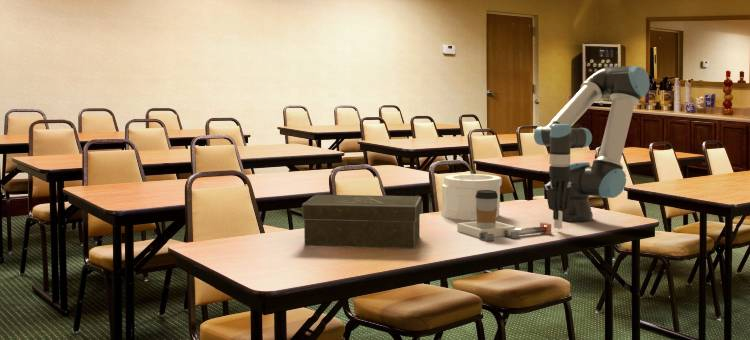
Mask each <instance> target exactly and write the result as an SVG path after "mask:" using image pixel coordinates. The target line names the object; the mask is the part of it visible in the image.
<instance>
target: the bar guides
mask: <svg viewBox="0 0 750 340" xmlns="http://www.w3.org/2000/svg"><path fill="white" fill-rule="evenodd" d="M508 230H512V229H508ZM506 231H507V230H504V236H503V237H504V238H508V236H507V234H506ZM487 233H488V232H480V233H479V238H478V239H479V240H481V241H485V242H494V241H495V237H494V234H487ZM519 238H520V235H519V231H513V232H511V236H510V237H509V238H508V239H519Z"/></svg>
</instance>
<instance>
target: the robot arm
mask: <svg viewBox="0 0 750 340" xmlns="http://www.w3.org/2000/svg"><path fill="white" fill-rule="evenodd" d="M649 90H650V77H649V74H648V71H646V69H645V68H643V66H634V65H628V66H607V67H603V68H601V69H599V70H597V71H595V72H594V73H593V74H592V75H590V76H589V77H588V78H586V79H585V80H584V81H583V82H582V83H581V85H580V88H579V90H578V91H577V92H576V93H575V94H574V96H573V97H572V98H571V99H570V100H569V101H568V102H567V103H566V104H565V105H564V106H563V107H562V108H561V109H560V111H559V112H558V113H556V114H555V116H554V117H553V118H552V119H551V121H549V123H548V124H546V126H545V125H541V126H538V127H536V128H535V130H534V133H533V139H534V141H535V143H536V144H537V145H539V146H543V147H549V161H548V162H549V165H550V166H549V168H548V174H549V177H550V178H549V179H548V180H549V181H548V182H547V183H546V184H544V185H543V188H544V190H545V194H546V200H547V206H548V207H547V208H548V210H551V211H552V218H553V221H554V225H553V228H554V229H559V230H562V229H563V221H564V222H589V221H593V217H594V215H593V212H592V208H591V205H590V201H589V200H590V199H589V198H590V196H591V197H601V198H604V199H607V198H608V199H609V198H610V199H613V198H617V197H618V196H620V195H621V194H622V193H623V191H624V189H625V188H626V183H627V175H626V172H625V171H624V166H623V165H622V163H621V160H622V156H623V151H624V148H625V145H626V140H627V137H628V132H629V128H630V124H631V121H632V116H633V112H634V108H635V106H636V105H638V104H639V103H640V100H641V97H644V96H646V95H647V94H648V93H649ZM605 96H609V98H610V99H611V101H612V102H611V105H610V110H609V113H608V116H607V121H606V125H605V128H604V134H603V137H602V140H601V145H600V150H599V152H598V157H597V158H595V159H594V160H593V161H592V164H591V163H590V162H588V161H585V162H582V161H581V162H572V163H571V149H583V148H587V147H588V146H590V144H591V143H592V140H593V135H592V133H591V131H590V129H588V128H586V127H573V125H574V124H575V123H577V121H578V120H579V119H580V118H581V117H582V116H583V115H584V114H585V113H586V112H587V110H588V109H589V108H590V107H591V106H592V105H593V104H594V102H598V101H601V99H602V98H603V97H605Z"/></svg>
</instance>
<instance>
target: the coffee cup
mask: <svg viewBox="0 0 750 340" xmlns="http://www.w3.org/2000/svg"><path fill="white" fill-rule="evenodd" d="M475 198H476V213H477V220H476V221H477V227H478V228H479V229H490V228H495V224H496V221H497V218H496V212H497V198H498V194H497V191H493V190H479V191H477V194H476V197H475Z"/></svg>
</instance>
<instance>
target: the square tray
mask: <svg viewBox="0 0 750 340" xmlns="http://www.w3.org/2000/svg"><path fill="white" fill-rule="evenodd" d="M456 225H457V227H456V228H457V230H456V231H457V232H458V233H462V234H466V235H468V236H472V237H475V238H478V239H479V233H480V232H488V233H487V234H494V238H496V237H505V236H504V230H508V229H517V227H516V226H515V225H512V224H508V223H504V222H501V221H497V220H496V224H495V228H490V229H479V228H478V227H477V220H475V221H469V222H468V221H467V222H458V223H457V224H456Z"/></svg>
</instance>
